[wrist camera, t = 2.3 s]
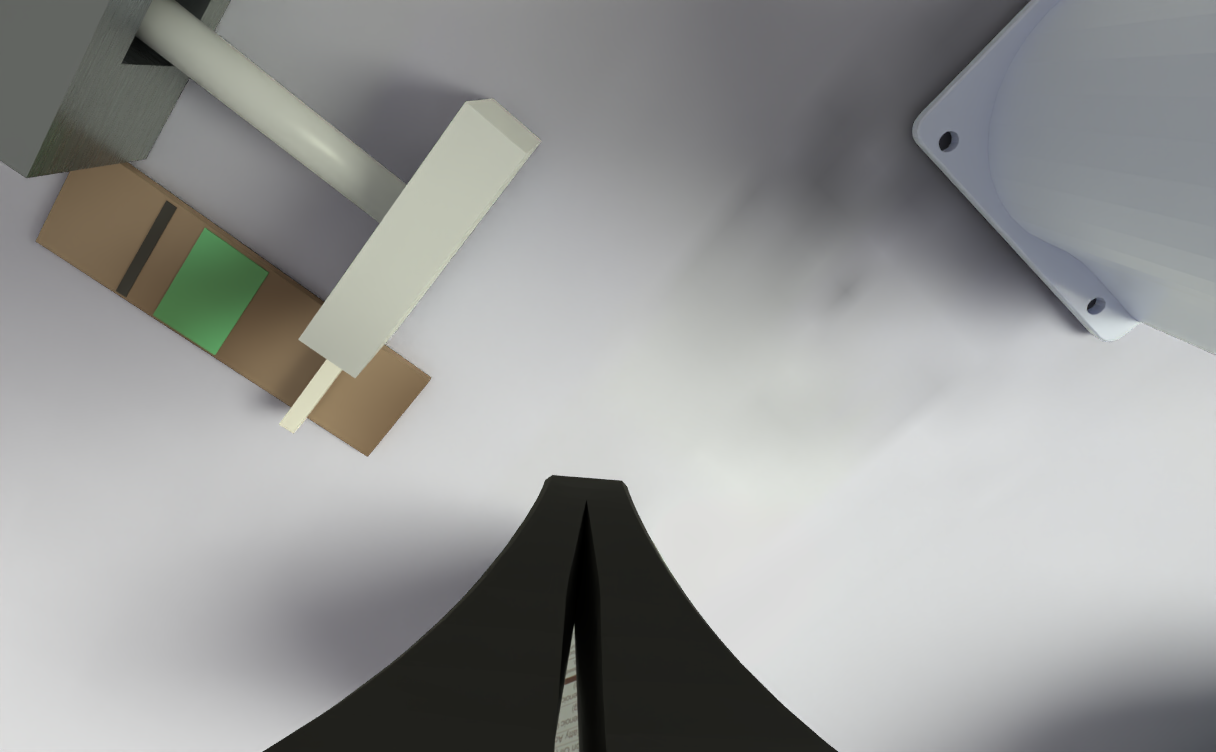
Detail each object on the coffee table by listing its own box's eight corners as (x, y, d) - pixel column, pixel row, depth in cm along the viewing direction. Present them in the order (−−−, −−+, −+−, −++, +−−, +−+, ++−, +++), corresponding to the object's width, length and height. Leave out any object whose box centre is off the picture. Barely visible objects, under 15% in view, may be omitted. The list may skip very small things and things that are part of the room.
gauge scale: (431, 377, 20) (428, 382, 20) (370, 452, 22) (367, 457, 21) (94, 138, 17) (84, 139, 17) (44, 239, 19) (34, 241, 18)
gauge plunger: (541, 141, 17) (526, 153, 14) (319, 431, 21) (265, 495, 17) (166, -188, 14) (35, -270, 11) (-16, 214, 18) (-155, 243, 15)
